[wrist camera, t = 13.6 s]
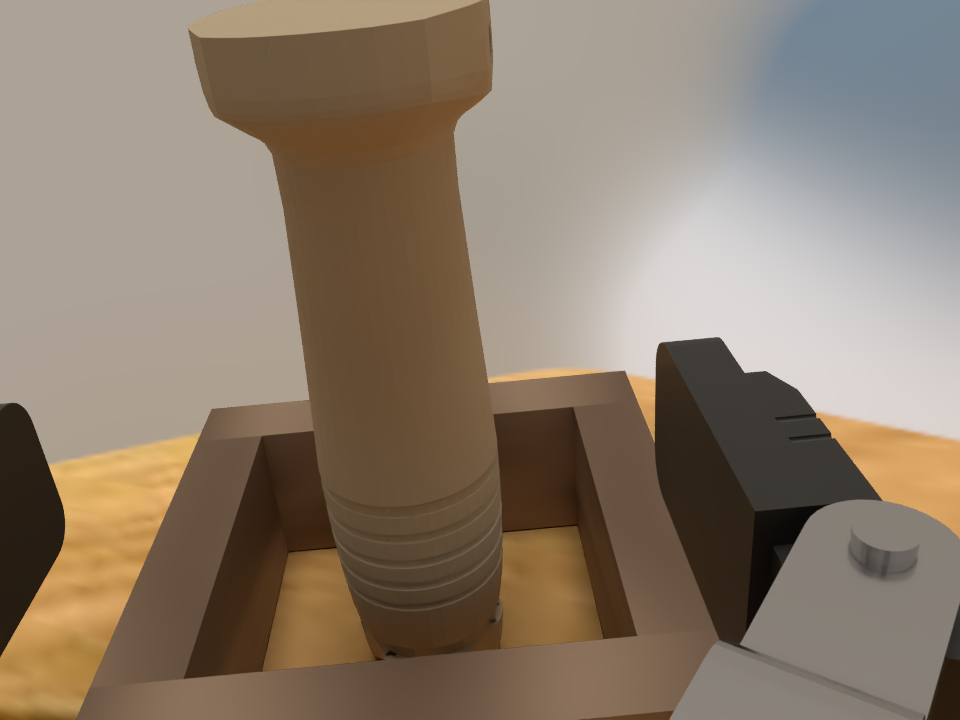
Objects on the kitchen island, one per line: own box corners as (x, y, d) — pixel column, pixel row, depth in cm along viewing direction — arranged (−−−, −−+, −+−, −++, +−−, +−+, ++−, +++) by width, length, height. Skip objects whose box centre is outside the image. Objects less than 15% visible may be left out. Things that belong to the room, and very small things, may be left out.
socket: (117, 911, 17) (54, 769, 15) (239, 520, 27) (211, 409, 26) (747, 851, 17) (761, 702, 15) (625, 483, 27) (624, 370, 26)
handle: (314, 765, 19) (131, 47, 12) (361, 565, 25) (254, -4, 18) (536, 761, 19) (478, 19, 12) (533, 559, 25) (492, -25, 18)
